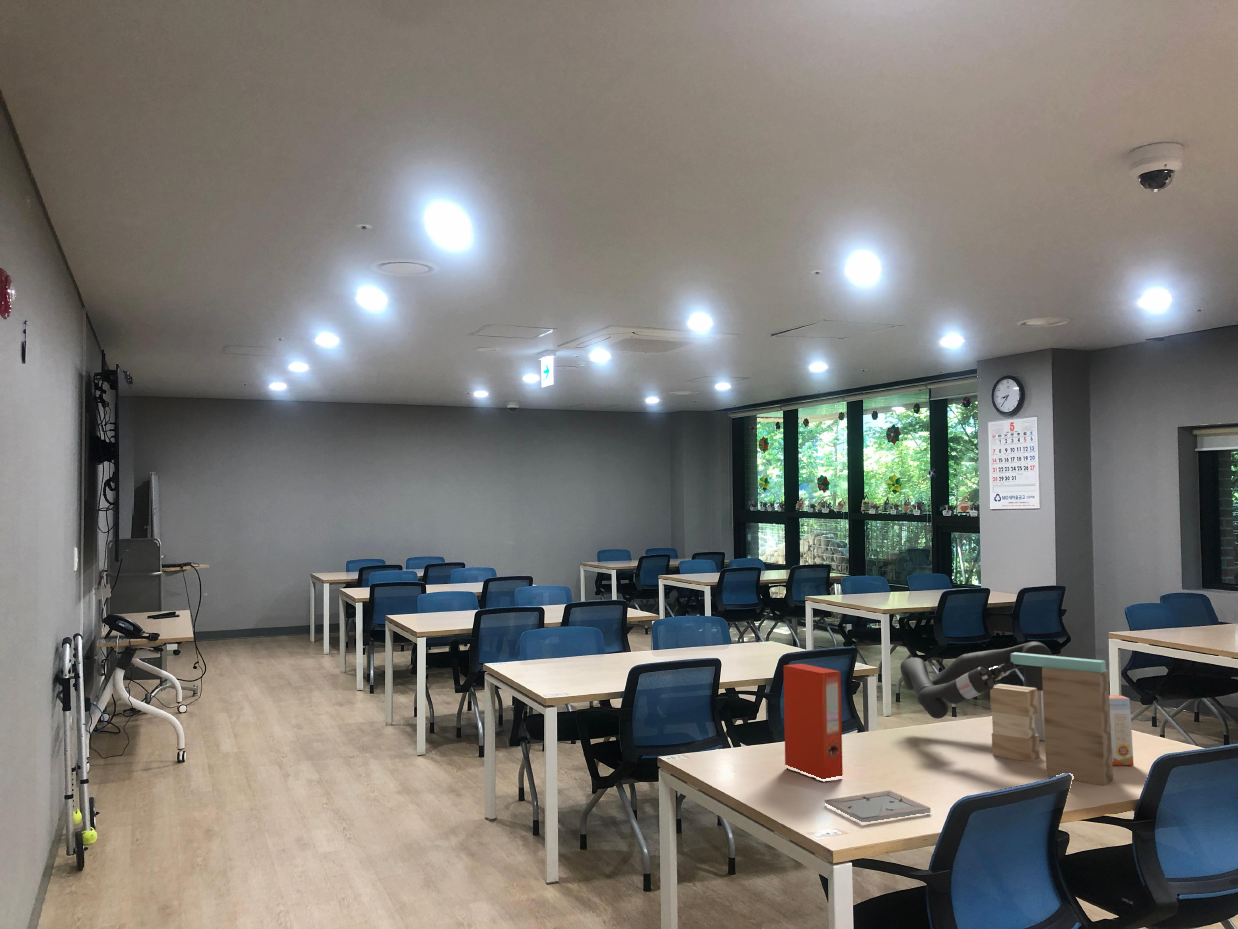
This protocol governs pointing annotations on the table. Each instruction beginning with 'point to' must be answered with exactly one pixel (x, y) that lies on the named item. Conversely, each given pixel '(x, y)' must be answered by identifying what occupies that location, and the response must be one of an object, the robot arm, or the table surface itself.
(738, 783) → the table surface
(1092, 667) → the batten
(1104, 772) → the wooden moulding block
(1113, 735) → the cracker box
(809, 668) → the file binder
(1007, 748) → the block
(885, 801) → the picture frame
